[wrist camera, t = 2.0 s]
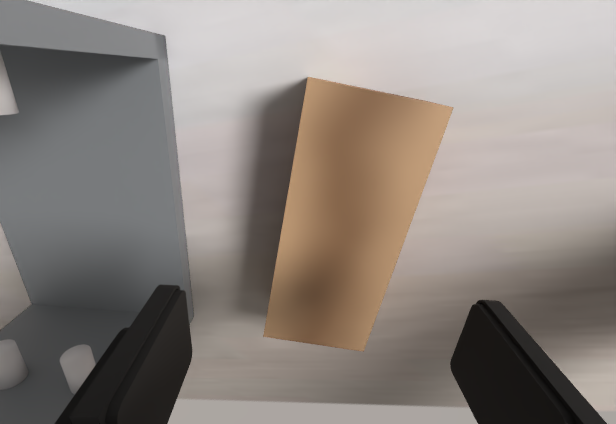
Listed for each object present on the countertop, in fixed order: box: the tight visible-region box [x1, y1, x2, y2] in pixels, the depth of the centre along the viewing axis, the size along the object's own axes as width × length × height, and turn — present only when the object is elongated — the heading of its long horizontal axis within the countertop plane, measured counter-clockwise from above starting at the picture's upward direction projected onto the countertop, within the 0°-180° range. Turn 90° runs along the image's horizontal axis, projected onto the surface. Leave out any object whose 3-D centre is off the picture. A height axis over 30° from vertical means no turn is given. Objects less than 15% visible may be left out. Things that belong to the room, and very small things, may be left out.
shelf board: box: [263, 77, 453, 351], centre depth 17 cm, size 6×14×4 cm, turn 169°
